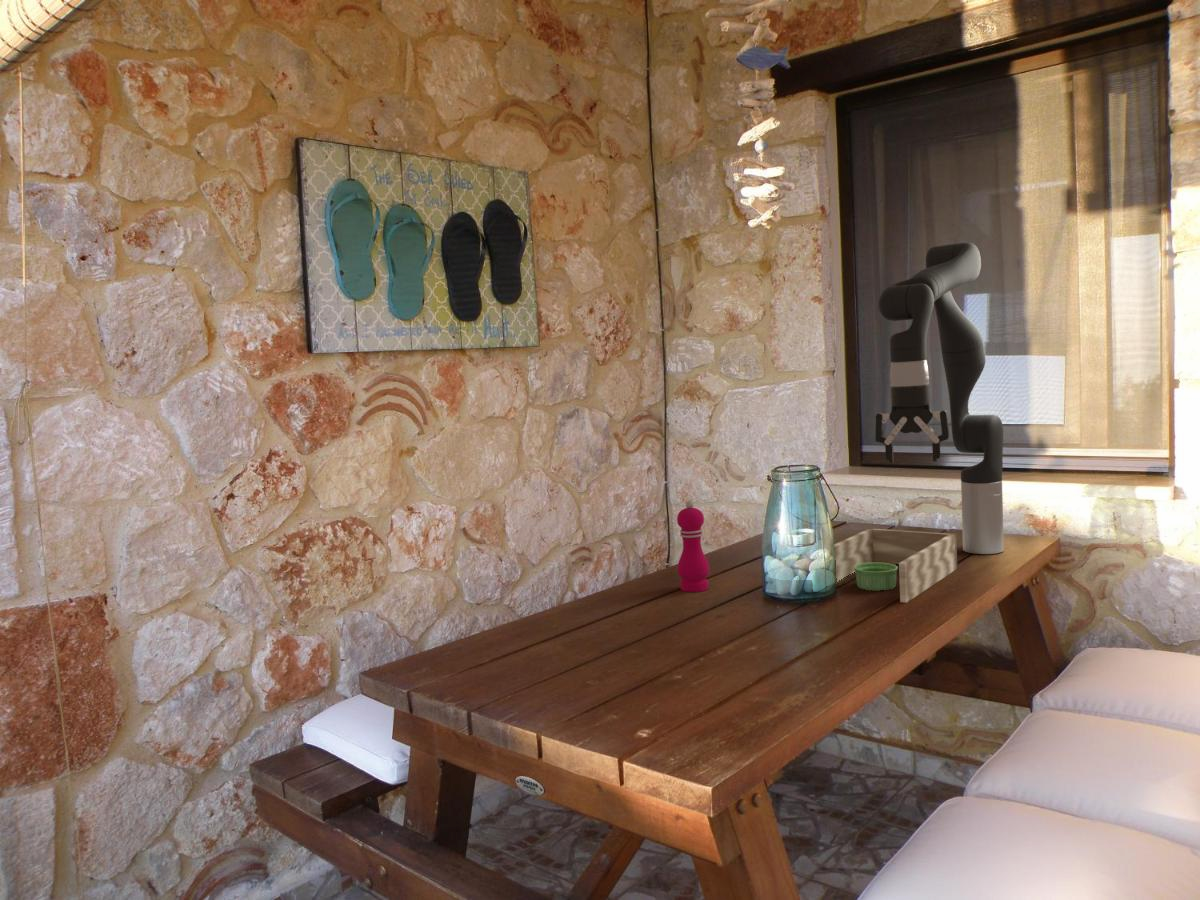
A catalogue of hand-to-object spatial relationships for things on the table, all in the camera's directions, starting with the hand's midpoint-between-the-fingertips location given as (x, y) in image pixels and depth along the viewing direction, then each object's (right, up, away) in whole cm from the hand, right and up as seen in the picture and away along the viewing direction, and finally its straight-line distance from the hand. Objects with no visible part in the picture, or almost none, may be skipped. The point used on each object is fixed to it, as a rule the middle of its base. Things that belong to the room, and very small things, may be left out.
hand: (912, 461), depth 188 cm
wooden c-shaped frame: (-1, -26, +13) cm, 29 cm away
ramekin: (-5, -27, +9) cm, 29 cm away
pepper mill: (-43, -29, +17) cm, 55 cm away
